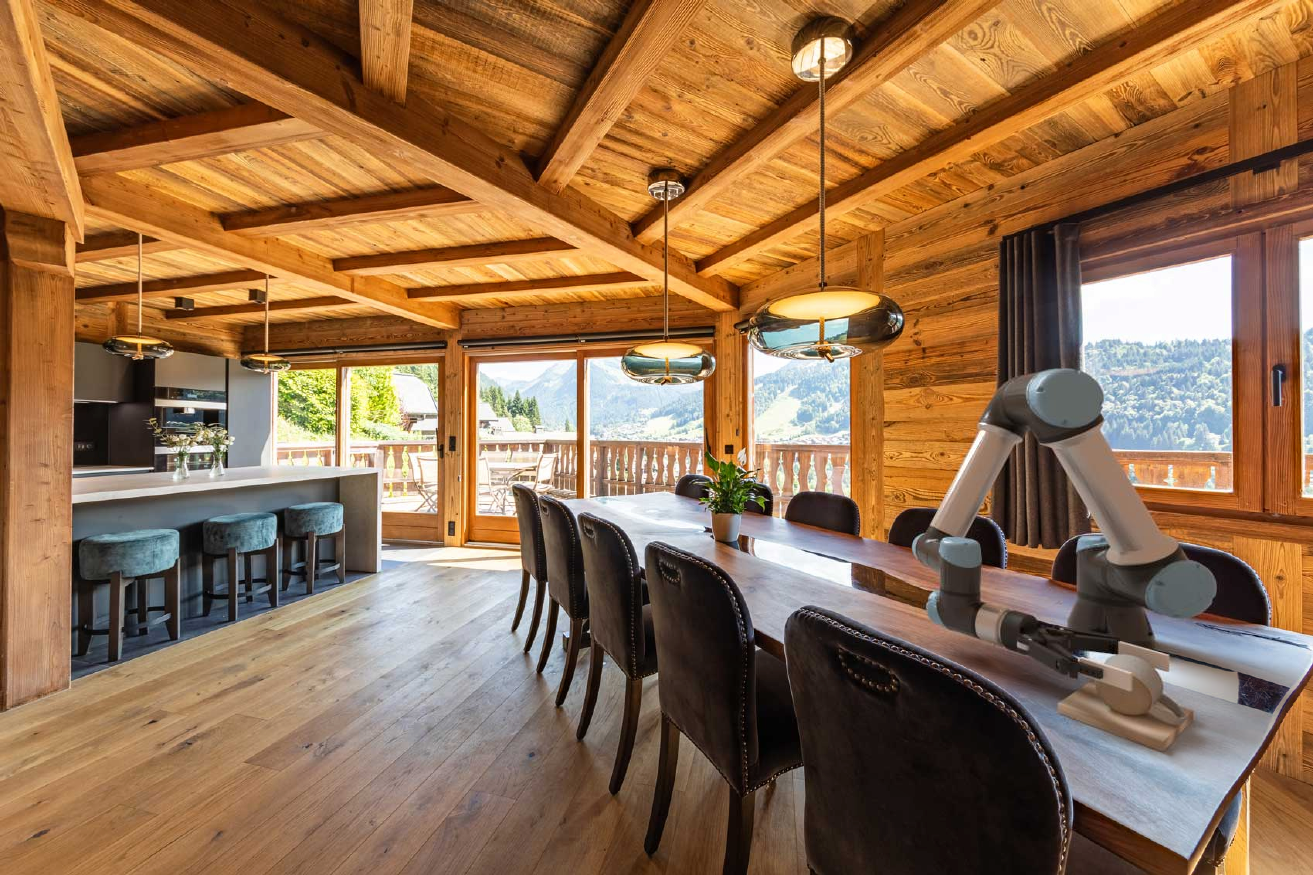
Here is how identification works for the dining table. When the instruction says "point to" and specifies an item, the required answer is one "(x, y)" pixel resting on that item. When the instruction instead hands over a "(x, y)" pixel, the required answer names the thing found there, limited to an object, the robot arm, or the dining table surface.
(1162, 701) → the ceramic mug
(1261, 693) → the dining table surface
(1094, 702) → the birch board
